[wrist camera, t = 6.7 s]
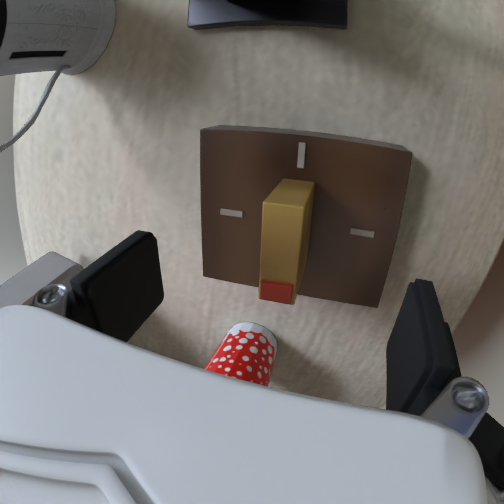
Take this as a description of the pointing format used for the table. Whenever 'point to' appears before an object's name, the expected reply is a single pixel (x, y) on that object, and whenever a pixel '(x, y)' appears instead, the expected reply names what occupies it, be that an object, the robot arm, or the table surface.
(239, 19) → the handle bracket
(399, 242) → the table surface
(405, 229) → the table surface
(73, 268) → the network device
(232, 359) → the beverage cup
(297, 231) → the thumb turn
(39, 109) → the glass holder
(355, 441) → the robot arm
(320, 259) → the lock plate
